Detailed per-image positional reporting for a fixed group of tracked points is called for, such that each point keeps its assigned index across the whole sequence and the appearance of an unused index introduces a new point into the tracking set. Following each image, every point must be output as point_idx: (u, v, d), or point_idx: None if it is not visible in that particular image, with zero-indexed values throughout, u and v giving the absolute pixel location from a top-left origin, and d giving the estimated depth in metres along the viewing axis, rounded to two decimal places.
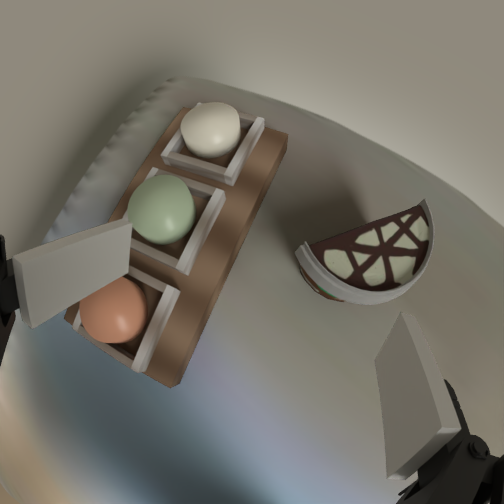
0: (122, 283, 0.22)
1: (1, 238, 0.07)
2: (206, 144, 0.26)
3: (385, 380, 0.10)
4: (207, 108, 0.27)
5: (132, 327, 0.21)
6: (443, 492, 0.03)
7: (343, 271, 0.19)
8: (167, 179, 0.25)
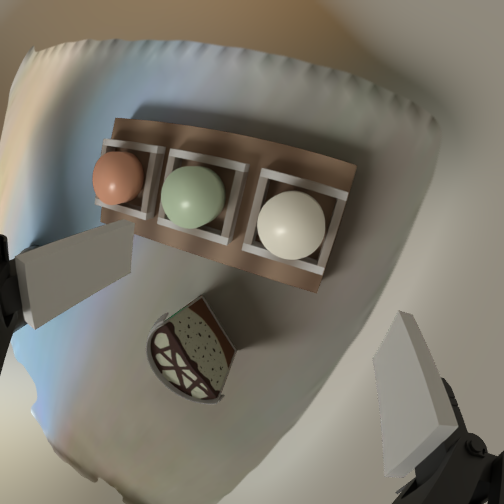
0: (126, 187, 0.28)
1: (4, 238, 0.07)
2: None
3: (383, 378, 0.10)
4: (312, 219, 0.24)
5: (106, 203, 0.29)
6: (440, 490, 0.03)
7: (158, 342, 0.30)
8: (212, 200, 0.26)
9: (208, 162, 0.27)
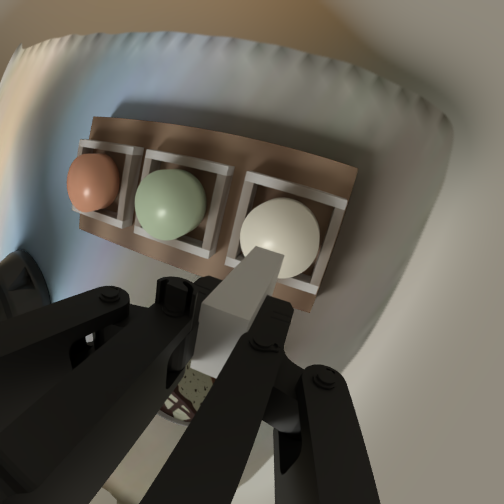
0: (99, 192, 0.24)
1: (193, 287, 0.08)
2: (240, 243, 0.22)
3: None
4: (304, 232, 0.21)
5: (81, 210, 0.26)
6: (223, 389, 0.05)
7: None
8: (189, 208, 0.22)
9: (187, 164, 0.24)
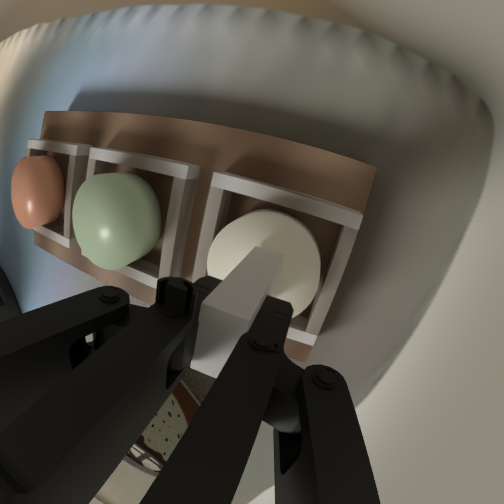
0: (38, 205, 0.17)
1: (193, 287, 0.08)
2: (208, 274, 0.16)
3: None
4: (298, 262, 0.14)
5: (24, 226, 0.18)
6: (223, 389, 0.05)
7: None
8: (132, 228, 0.15)
9: (136, 165, 0.16)
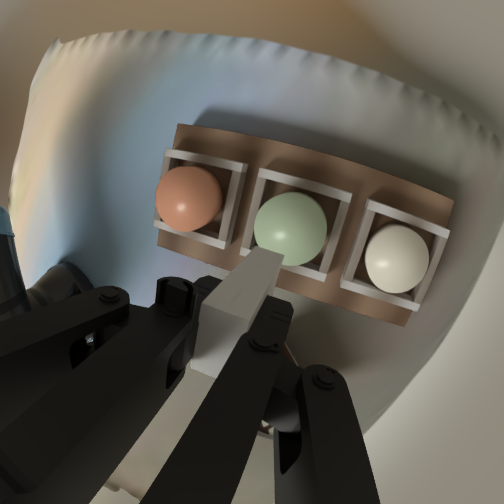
0: (205, 211, 0.25)
1: (193, 287, 0.08)
2: (366, 263, 0.24)
3: None
4: (418, 255, 0.22)
5: (175, 229, 0.26)
6: (223, 389, 0.05)
7: None
8: (319, 235, 0.23)
9: (308, 188, 0.24)
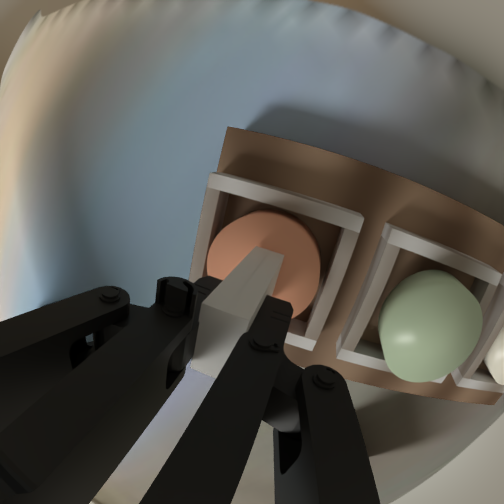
0: (303, 297, 0.15)
1: (193, 287, 0.08)
2: (494, 359, 0.13)
3: None
4: None
5: None
6: (222, 389, 0.05)
7: None
8: (471, 342, 0.11)
9: (457, 266, 0.13)
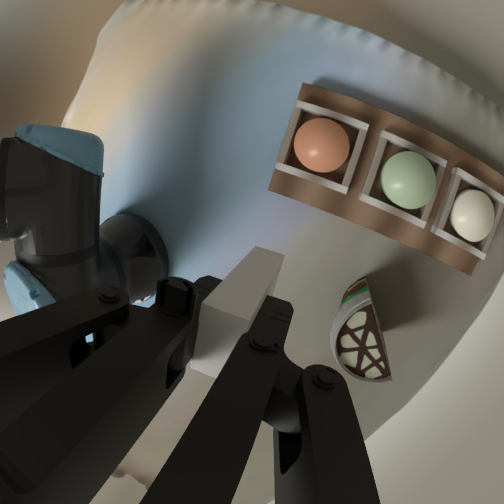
0: (342, 157, 0.28)
1: (193, 287, 0.08)
2: (455, 215, 0.26)
3: None
4: (488, 213, 0.24)
5: None
6: (223, 389, 0.05)
7: (351, 322, 0.29)
8: (431, 186, 0.25)
9: (418, 152, 0.26)
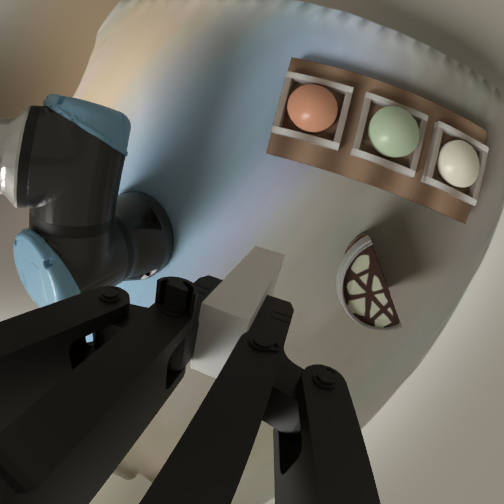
0: (331, 116, 0.30)
1: (193, 287, 0.08)
2: (442, 163, 0.28)
3: None
4: (473, 160, 0.26)
5: (304, 129, 0.31)
6: (223, 389, 0.05)
7: (355, 267, 0.30)
8: (415, 135, 0.26)
9: None
